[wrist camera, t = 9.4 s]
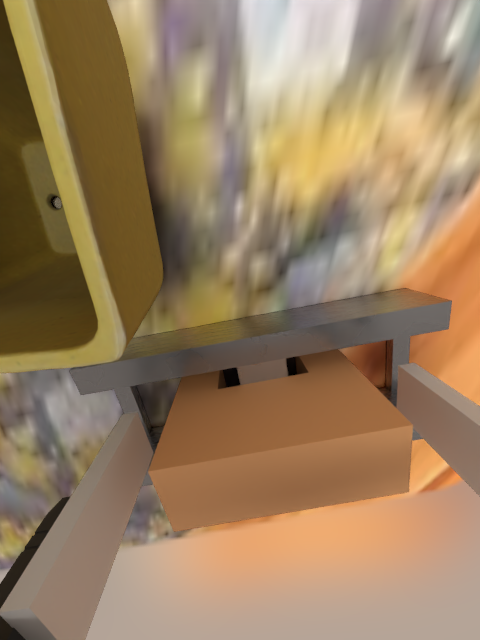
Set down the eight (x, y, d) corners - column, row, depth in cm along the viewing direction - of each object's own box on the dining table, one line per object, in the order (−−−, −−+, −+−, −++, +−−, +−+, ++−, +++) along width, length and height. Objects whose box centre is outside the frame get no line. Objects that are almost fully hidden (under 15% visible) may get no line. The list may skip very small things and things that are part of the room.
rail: (144, 446, 16) (125, 488, 14) (102, 344, 14) (69, 370, 11) (399, 401, 16) (436, 436, 13) (405, 288, 13) (451, 300, 11)
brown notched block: (198, 408, 16) (174, 531, 9) (185, 366, 15) (147, 471, 8) (332, 383, 15) (408, 492, 9) (329, 340, 14) (412, 425, 8)
